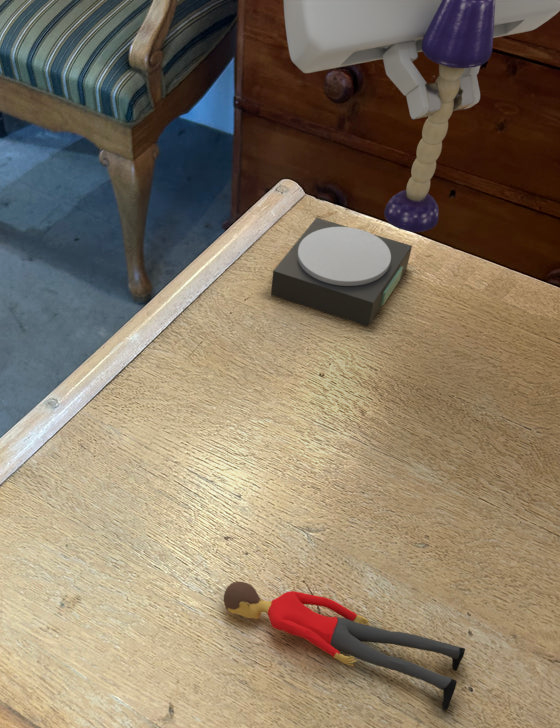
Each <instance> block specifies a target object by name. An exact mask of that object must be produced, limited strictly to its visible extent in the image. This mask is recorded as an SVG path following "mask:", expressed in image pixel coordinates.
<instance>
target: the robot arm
mask: <svg viewBox="0 0 560 728" xmlns="http://www.w3.org/2000/svg"><path fill="white" fill-rule="evenodd" d="M441 2H442V0H283V13H284V15H283V17H284V25H285V26H284V27H285V33H286V34H285V35H286V40H287V41H286V42H287V47H288V53H289V57H290V60H291V62H292V63H293V64H294V65H295V66H296V67H297V68H298V69H299V70H300V71H301V72H302V73H304V74H311V73H316V72H321V71H325V70H326V71H327V70H331V69H337V68H341V67H348V66H352V65H357V64H364V63H369V62H373V61H379V60H383V66H384V70H385V75H386V76H387V77H388V78H389V80H390V81H391V82H392V83H393V85H394V86H396V88H397V89H398V91H400V93H402V95H403V96H405V97H406V102H407V107H408V111H409V116H410V118H411V120H417V119H423V118H428V116H432V115H433V114H434V113H436V112H438V111H439V110H440V108H441V99H440V98H439V96H438V94H439V89H438V84H437V82H436V81H435V82H436V83H435V82H430V83H427V81H426V80H425V78H424V77H423V76H422V74H421V72H420V71H419V70H418V68H417V67H416V65H415V64H414V63H413V62H415V61H416V60H417V59H418V58H419V54H418V53H423V51H422V40H423V38H424V36H425V33H426V31H427V29H428V27H429V25H430V23H431V21H432V19H433V17H434V15H435V13H436V12H437V10H438V8H439V6H440V4H441ZM559 12H560V0H495V16H494V34H493V39H495V38H501V37H505V36H512V35H516V34H521V33H526V32H531V31H534V30H536V29H538V28H539V27H542V25H543V24H545V23H546V22H549V20H550V19H552V18H553V17H555V16H556V15H557V14H558V13H559ZM480 68H481V65H480V66H477V67H471V68H465V70H464V72H463V74H462V75H461V76H460V87H459V91H458V93H457V95H456V97H455V98H454V99H453V100H454V108H453V112H455V111H461V110H467V109H470V108H472V107H474V106H475V105H476V104H478V103H479V102H480V100H481V91H480V90H481V89H480V85H479V80H478V74H479V72H480Z"/></svg>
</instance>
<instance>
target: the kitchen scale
mask: <svg viewBox="0 0 560 728" xmlns="http://www.w3.org/2000/svg"><path fill="white" fill-rule="evenodd" d="M412 248H413V245H411V244H408V243H404V242H401V241H397V240H395V239H391V238H387V237H384V236H380V235H377V234H373V233H371V232H369V231H366V230H363V229H361V228H355V227H352V226H351V227H349V226H347V225H343V224H339V223H336V222H333V221H330V220H326V219H322V218H320V217H315V218H314V219H313V221H312V222H311V224H310V225H309V226H308V227H307V228H306V229H305V230H304V232H303V234H302V235H301V236H300V238H298V239H297V241H296V242H295V243H294V244H293V246H292V247H291V248H290V250H289V251H288V252H287V253H286V254H285V256H284V257H283V258H282V259H281V260H280V262H279V263H278V264H277V265H276V266H275V268H274V269H273V271H272V278H271V290H270V295H271V296H274V297H276V298H280V299H283V300H285V301H288V302H291V303H295V304H299V305H301V306H304V307H307V308H310V309H313V310H316V311H319V312H323V313H325V314H328V315H331V316H334V317H337V318H340V319H344V320H346V321H350V322H353V323H356V324H358V325H361V326H365V327H369V326H370V325H371V324H372V322H373V321H374V319H375V318H376V316H377V314H378V313H379V312H380V310H381V309H382V308H383V306H384V305H385V303H386V301H387V300H388V299H389V297H390V296H391V294H392V293H393V291H395V288H396V287H397V285H398V284H399V282H401V278H402V277H403V276H404V274H405V273H406V271H407V268H408V265H409V261H410V257H411V252H412Z"/></svg>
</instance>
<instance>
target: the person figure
mask: <svg viewBox="0 0 560 728" xmlns="http://www.w3.org/2000/svg"><path fill="white" fill-rule="evenodd" d="M223 604H224V607H225V609H226V610H227V611H229V612H230V613H231V614H235V615H239V616H242V617H244V618H246V619H259V618H260V617H261V614H262V613H266V614H267V617H268V620H269V622H270V625H271V627H272V629H275V630H278V631H283V632H284V633H287V634H288V635H292V636H295V637H300V638H302V639H304V640H306V641H308V642H309V643H310V644H312V645H313V646H315V647H317V648H318V649H320V650H321V651H323V652H325V653H327V654H329V656H330V657H332V658H333V659H337V660H338V661H339V662H341V663H343V664H345V665H347V666H351V667H354V666H355V664H353V663H356V662H357V659H359V660H361V661H362V662H365V663H368V664H372V665H374V666H378V667H382V668H384V669H388V670H391V671H396V672H398V673H400V674H403V675H406V676H409V677H412V678H415V679H418V680H421V681H423V682H425V683H427V684H430V685H432V686H434V687H436V688H437V689H439V690H441V691H442V693H443V694H442V695H443V698H442V704H441V707H442V709H443V710H444V711H447V710H448V709H449V707H450V704H451V702H452V699H453V696H454V692H455V690H456V688H457V684H458V683H457V682H458V681H457V680H456V679H453V678H452V677H449V676H446V675H443V674H440V673H437V672H435V671H432V670H430V669H428V668H425V667H423V666H422V665H419V664H417V663H415V662H411V661H408V660H405V659H403V658H400V657H396V656H392V655H388V654H386V653H383V652H381V651H380V650H377V649H375V648H374V647H371V646H370V645H368V644H366V643H375V644H382V645H383V644H384V645H394V646H400V647H405V648H411V649H417V650H421V651H426V652H432V653H437V654H440V655H443V656H446V657H448V658H451V661H452V663H451V670H452V671H453V672H457V671H458V669H459V667H460V664H461V661H462V659H463V658H464V656H465V652H466V648H464V647H461V646H458V645H454V644H452V643H447V642H443V641H439V640H435V639H431V638H429V637H425V636H421V635H417V634H412V633H409V632H402V631H391V630H387V629H383V628H379V627H376V626H372V625H371V624H370V623H369V620H368V619H367V618H366V617H364V616H362V615H359V614H357V613H355V612H354V611H352V610H351V609H348V608H347V607H346V606H343V605H342V604H341V603H339V602H337V601H335V600H333V599H331V598H328V597H325V596H320V595H315V594H309V593H304V592H300V591H294V590H289V591H286V592H284V593H282V594H280V595H279V596H278V597H276V598H274V599H272V600H270V601H269V600H265V599H262V598H261V597H260V595H259V594H258V592H257V591H256V588H255V587H254V586H253V585H252V584H250V583H248V582H245V581H233V582H231V583H230V584H229V585H227V587H226V588H225V591H224V593H223ZM306 605H309V606H317V607H323V608H327V609H328V610H331V611H332V612H334V613H336V614H337V615H339V616H341V617H339V616H331V617H330V616H327V615H324V614H323V615H322V614H319V613H317V612H315V611H314V610H312V609H310V608H309V607H308V606H306ZM341 653H342V654H341ZM344 654H345V655H344ZM347 655H348V656H347Z"/></svg>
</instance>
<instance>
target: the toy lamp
mask: <svg viewBox="0 0 560 728" xmlns="http://www.w3.org/2000/svg"><path fill="white" fill-rule="evenodd" d="M494 16H495V0H442V2H441V4H440V6H439V8H438V10H437V12H436V13H435V15H434V17H433V19H432V21H431V23H430V25H429V27H428V29H427V31H426V33H425V36H424V38H423V40H422V53H423V54H424V56H425V57H426V58H427V59H428V60H430V61H432V62H433V63H435V64H438V73H439V75H438V76H437V78H436V80H435V82H434V83H436V82H437V84H438V89H439V94H438V96H439V98H440V99H441V108H440V110H439V111H438V112H436V113H434V114H433V115H432V116H427V119H426V120H425V121H424V124H423V127H422V131H421V137H422V138H420V140H419V142H418V144H417V147H416V151H415V152H416V157H415V159H414V161H413V163H412V166H411V169H410V170H411V171H410V173H411V176H410V177H409V179H408V182H407V183H406V189H404V190H401V191H399V192H397V193H396V194H394V195H393V196H392V197H391V198H390V199H389V201H388V202H387V204H386V205H385V208H384V211H383V215H384V218H385V220H386V221H387V222H388V223H389V224H390V225H391V226H392V227H394V228H397V229H399V230H403V231H406V232H410V233H411V232H412V233H422V232H426V231H429V230H432V229H433V228H435V227H436V226H437V225H438V222H439V217H440V216H439V215H440V210H439V205H438V203H437V201H436V200H435V198H434V197H433V196H432V195H430V193H429V192H430V188H431V179H432V178H433V176H434V174H435V172H436V169H437V161H438V159H439V157H440V155H441V153H442V149H443V140H444V139H445V138H446V135H447V134H448V129H449V119H450V118H451V116H452V114H453V112H454V111H453V108H454V100H453V99H454V98H455V97H456V95H457V93H458V91H459V87H460V76H461V75H462V74H463V72H464V70H465V68H471V67H477V66H480V67H481V66H482V65H485V63H487V62H488V61H489V60H490V58H491V56H492V53H493V47H494V38H493V34H494Z"/></svg>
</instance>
